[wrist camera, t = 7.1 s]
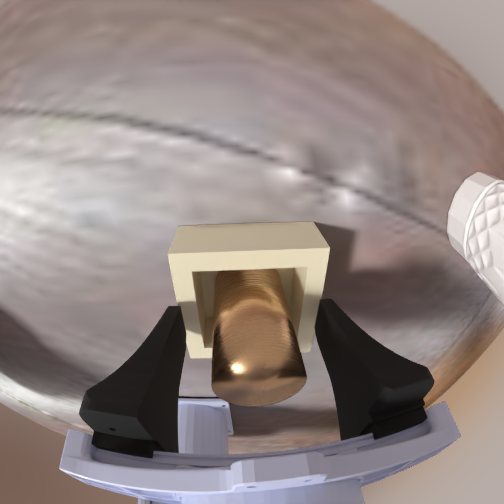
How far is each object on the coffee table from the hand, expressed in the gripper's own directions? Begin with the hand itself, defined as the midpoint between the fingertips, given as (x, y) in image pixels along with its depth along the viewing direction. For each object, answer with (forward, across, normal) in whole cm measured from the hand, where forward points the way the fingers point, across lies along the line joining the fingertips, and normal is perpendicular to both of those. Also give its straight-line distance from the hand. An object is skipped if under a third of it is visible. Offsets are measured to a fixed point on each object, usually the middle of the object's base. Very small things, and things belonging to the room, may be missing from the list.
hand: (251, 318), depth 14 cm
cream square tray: (+3, 0, 0) cm, 3 cm away
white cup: (+4, -18, -5) cm, 18 cm away
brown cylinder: (+3, 0, 0) cm, 3 cm away
